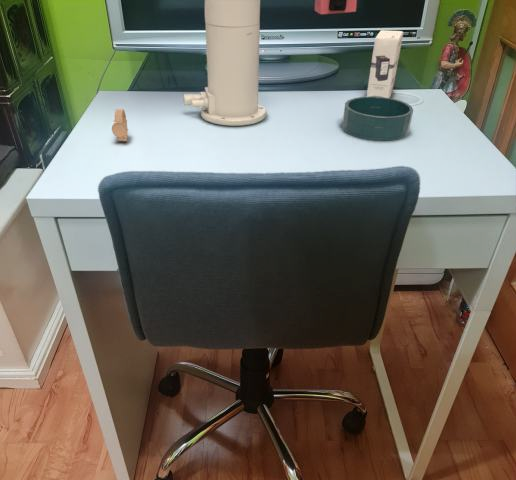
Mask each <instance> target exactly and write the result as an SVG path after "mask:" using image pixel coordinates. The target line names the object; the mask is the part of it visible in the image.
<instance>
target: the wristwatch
mask: <svg viewBox="0 0 516 480" xmlns="http://www.w3.org/2000/svg"><path fill="white" fill-rule="evenodd" d="M113 122H114V123H113V124H112V126H111V133H112V134H113V135H114V136H115V137H116V140H118V142H127V141H128V135H129V132H128V131H129V128H128V120H127V115H126V111H125V109H123V108H122V109H118V108H116V109H115V110H114V120H113Z"/></svg>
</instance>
